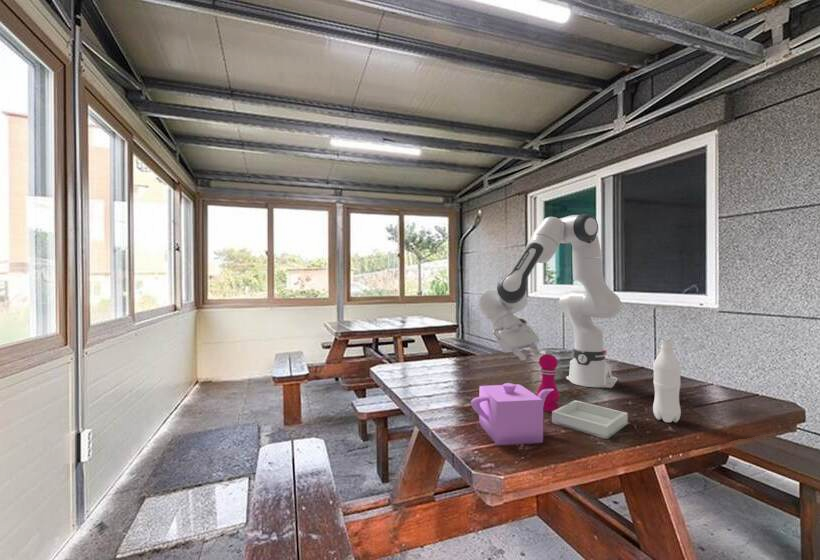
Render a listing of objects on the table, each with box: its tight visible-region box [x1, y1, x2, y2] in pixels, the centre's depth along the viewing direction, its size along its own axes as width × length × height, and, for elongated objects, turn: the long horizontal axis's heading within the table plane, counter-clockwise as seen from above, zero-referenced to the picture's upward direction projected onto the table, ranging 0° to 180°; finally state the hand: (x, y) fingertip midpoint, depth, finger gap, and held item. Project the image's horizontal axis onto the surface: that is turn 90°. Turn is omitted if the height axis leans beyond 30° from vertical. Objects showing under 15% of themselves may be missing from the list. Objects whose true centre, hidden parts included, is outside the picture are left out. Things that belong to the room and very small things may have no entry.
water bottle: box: [652, 339, 682, 424], centre depth 118 cm, size 7×7×25 cm
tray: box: [551, 399, 628, 440], centre depth 115 cm, size 16×16×4 cm
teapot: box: [470, 382, 554, 446], centre depth 109 cm, size 15×25×14 cm, turn 98°
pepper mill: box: [536, 349, 560, 413], centre depth 128 cm, size 7×7×20 cm
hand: (531, 357), depth 133 cm, fingers open, 8 cm apart
